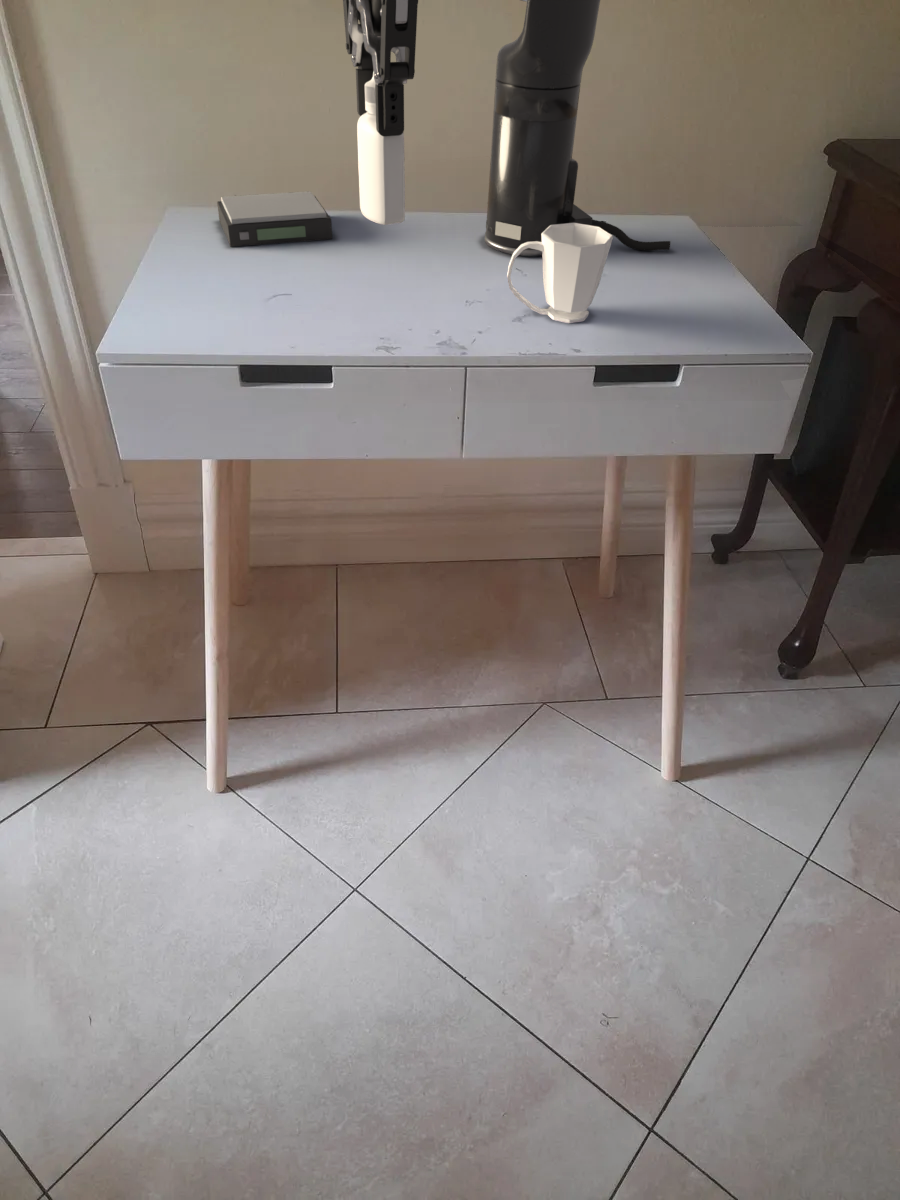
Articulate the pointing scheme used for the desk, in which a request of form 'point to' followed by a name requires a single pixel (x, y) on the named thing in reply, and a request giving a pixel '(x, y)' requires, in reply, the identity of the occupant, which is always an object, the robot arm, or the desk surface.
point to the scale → (273, 218)
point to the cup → (568, 269)
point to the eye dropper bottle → (380, 167)
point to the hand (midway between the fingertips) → (380, 124)
